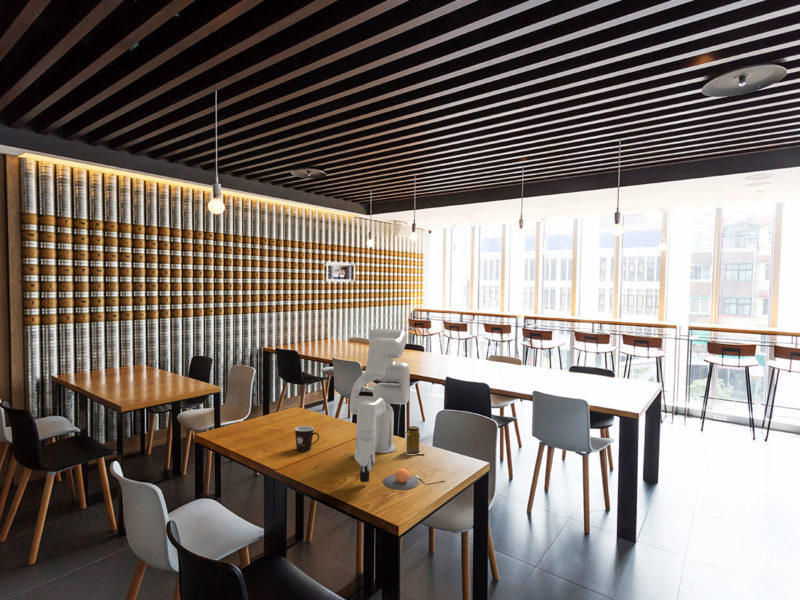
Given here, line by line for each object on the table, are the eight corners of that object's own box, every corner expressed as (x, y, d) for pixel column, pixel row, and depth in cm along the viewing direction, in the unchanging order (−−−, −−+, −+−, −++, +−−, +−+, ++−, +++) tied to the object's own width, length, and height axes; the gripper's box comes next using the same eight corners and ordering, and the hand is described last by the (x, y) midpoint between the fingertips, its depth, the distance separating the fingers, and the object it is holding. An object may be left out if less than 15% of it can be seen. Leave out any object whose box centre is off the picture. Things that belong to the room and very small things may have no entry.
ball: (396, 482, 172) (390, 472, 170) (406, 473, 174) (400, 463, 173) (403, 488, 167) (397, 478, 166) (414, 478, 170) (408, 468, 168)
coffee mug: (290, 449, 203) (291, 427, 203) (306, 445, 209) (307, 424, 209) (304, 456, 194) (305, 434, 194) (320, 452, 200) (321, 430, 200)
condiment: (404, 450, 207) (405, 425, 207) (422, 450, 208) (423, 425, 208) (406, 455, 200) (407, 429, 200) (424, 455, 201) (425, 429, 201)
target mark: (377, 477, 174) (377, 477, 174) (408, 472, 180) (408, 472, 180) (392, 492, 161) (392, 491, 161) (425, 486, 167) (425, 485, 167)
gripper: (350, 429, 172) (348, 475, 172) (364, 440, 158) (362, 490, 158) (368, 427, 175) (366, 472, 175) (382, 438, 161) (381, 487, 161)
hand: (364, 481), depth 166 cm, fingers closed
